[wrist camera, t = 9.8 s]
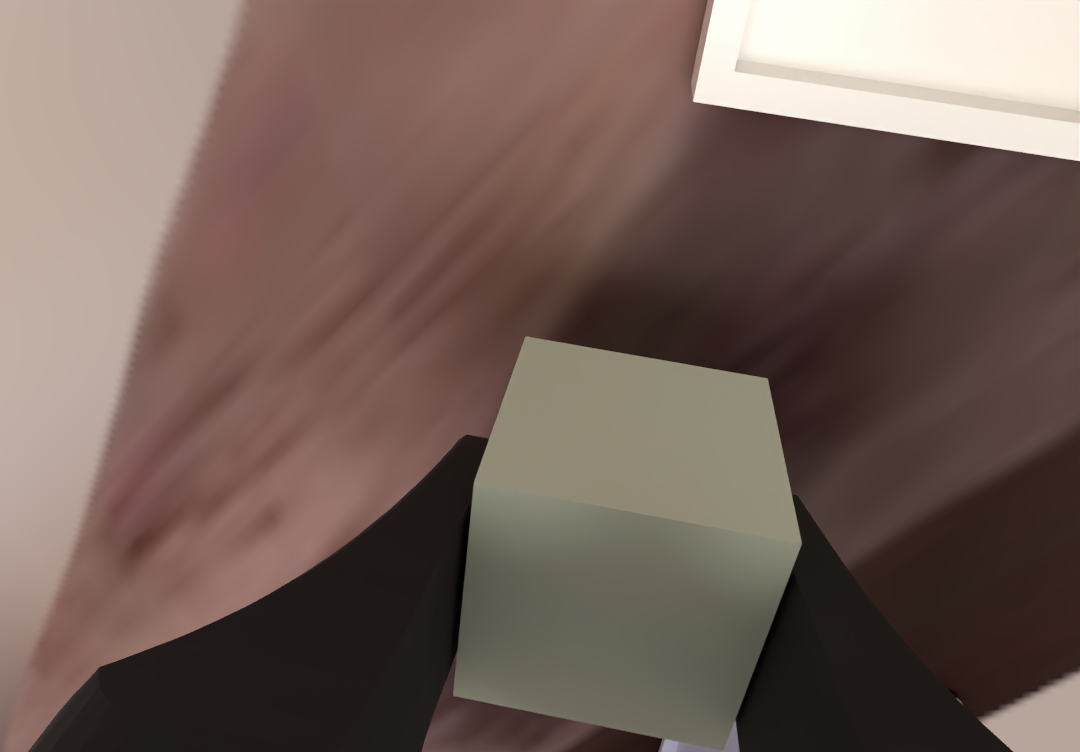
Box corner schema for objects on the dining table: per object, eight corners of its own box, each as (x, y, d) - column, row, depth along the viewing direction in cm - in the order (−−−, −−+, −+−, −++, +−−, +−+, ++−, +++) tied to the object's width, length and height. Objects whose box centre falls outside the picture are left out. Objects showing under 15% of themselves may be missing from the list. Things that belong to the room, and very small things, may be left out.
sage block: (711, 560, 15) (723, 750, 12) (502, 520, 15) (453, 695, 12) (767, 378, 13) (802, 543, 10) (525, 336, 13) (473, 482, 10)
